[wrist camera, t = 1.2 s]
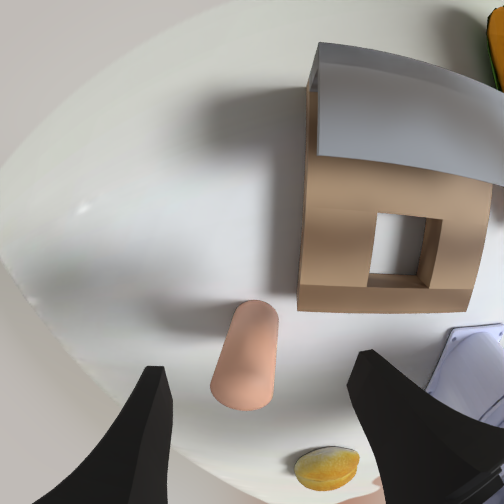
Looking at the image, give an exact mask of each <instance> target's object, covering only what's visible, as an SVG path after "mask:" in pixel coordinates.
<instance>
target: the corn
mask: <svg viewBox="0 0 504 504" xmlns="http://www.w3.org/2000/svg"><path fill="white" fill-rule="evenodd" d="M486 35H487V48H488V52H489V56H490V61H491V66H492V71H493V76H494V80H495V84H496V88H497V90H498V91H500V92H502V93H504V6H503V7H499V8H498V9H497V8H495V9H494V10H493V11H492V13H491V14H490V15H489V16H488V20H487V31H486Z"/></svg>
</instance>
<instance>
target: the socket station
mask: <svg viewBox="0 0 504 504" xmlns="http://www.w3.org/2000/svg"><path fill="white" fill-rule="evenodd" d="M493 184H495V185H499V186H502V187H504V93H502V92H500V91H498V90H496V89H494V88H492V87H490V86H488V85H485V84H483V83H481V82H478V81H476V80H474V79H471V78H469V77H466V76H464V75H461V74H459V73H456V72H453V71H450V70H447V69H445V68H442V67H439V66H436V65H432V64H429V63H426V62H422V61H419V60H415V59H412V58H408V57H404V56H400V55H396V54H392V53H387V52H382V51H378V50H372V49H367V48H361V47H355V46H348V45H341V44H333V43H324V42H319V43H318V47H317V50H316V54H315V58H314V61H313V65H312V68H311V72H310V76H309V79H308V83H307V86H306V151H305V178H304V199H303V217H302V232H301V247H300V260H299V272H298V284H297V311H306V312H331V313H383V314H400V313H449V312H466V310H467V307H468V304H469V301H470V298H471V295H472V291H473V288H474V284H475V281H476V277H477V273H478V269H479V265H480V261H481V257H482V252H483V248H484V243H485V237H486V232H487V226H488V220H489V213H490V206H491V198H492V188H493ZM377 212H379V213H389V214H399V215H408V216H417V217H426V224H425V231H424V237H423V243H422V249H421V254H420V259H419V264H418V269H417V274H416V275H397V274H373V273H369V270H370V264H371V257H372V251H373V244H374V236H375V228H376V220H377Z"/></svg>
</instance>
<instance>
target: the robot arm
mask: <svg viewBox="0 0 504 504" xmlns="http://www.w3.org/2000/svg"><path fill="white" fill-rule="evenodd" d="M503 333H504V324H497V325H488V326H478V327H466V328H455V329H453V330H452V332H451V333H450V336H449V339H448V341H447V344H446V346H445V349H444V351H443V354H442V356H441V358H440V361H439V363H438V365H437V367H436V370H435V372H434V374H433V376H432V378H431V380H430V382H429V384H428V386H427V388H426V390H425V391H424V390H423V389H421V388H420V387H419V386H417V385H416V384H415V383H414V382H412V381H411V380H410V379H408V378H407V377H406V376H405V375H403V374H402V373H401V372H400V371H399V370H397V369H396V368H395V367H394V366H393V365H391V364H390V363H389V362H388V361H387V360H385V359H384V358H383V357H382V356H381V355H379V354H378V353H377V352H376V351H374V350H373V349H371V350H366V351H360V352H359V354H358V357H357V360H356V362H355V365H354V368H353V370H352V373H351V375H350V378H349V380H348V383H347V389H348V392H349V396H350V399H351V402H352V405H353V408H354V410H355V413H356V415H357V417H358V419H359V422H360V424H361V426H362V428H363V430H364V433H365V435H366V437H367V439H368V441H369V444H370V446H371V448H372V451H373V453H374V456H375V459H376V462H377V466H378V469H379V473H380V477H381V481H382V485H383V490H384V495H385V501H386V504H504V348H503V347H502V346H501V345H500V344H499V342H500V340H501V338H502V335H503ZM172 425H173V399H172V395H171V392H170V388H169V384H168V381H167V377H166V373H165V369H164V366H147V367H145V369H144V371H143V373H142V375H141V377H140V379H139V381H138V382H137V384H136V386H135V388H134V390H133V392H132V393H131V395H130V397H129V398H128V400H127V402H126V403H125V405H124V407H123V408H122V410H121V412H120V413H119V415H118V417H117V418H116V419H115V421H114V422H113V424H112V425H111V427H110V428H109V430H108V431H107V433H106V434H105V435H104V437H103V438H102V439H101V441H100V442H99V443H98V444H97V446H96V447H95V448H94V449H93V450H92V452H91V453H90V454H89V455H88V456H87V457H86V458H85V460H84V461H83V462H82V463H81V464H80V465H79V466H78V467H77V468H76V469H75V470H74V471H73V472H72V473H71V474H70V475H69V476H68V477H66V478H65V479H64V480H63V481H62V482H61V483H60V484H58V485H57V486H56V487H55V488H54V489H52V490H51V491H50V492H48V493H47V494H46V495H44V496H43V497H41V498H40V499H38V500H37V501H35V502H34V503H32V504H168V501H167V500H168V499H167V470H168V460H169V452H170V443H171V434H172Z"/></svg>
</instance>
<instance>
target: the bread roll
mask: <svg viewBox="0 0 504 504" xmlns="http://www.w3.org/2000/svg"><path fill="white" fill-rule="evenodd" d="M359 458H360V457H359V454H358V453H357V452H356V451H354V450H351V449H347V448H340V447H326V448H322V449H318V450H315V451H313V452H310V453H308V454H306V455H304V456H302V457H301V458H299V460H298V461H297V463H296V464H295V467H294V472H295V474H296V477H297V479H298V481H299V482H300V483H301V484H302V485H304V486H305V487H306V488H309V489H312V490H316V491H329V490H334V489H337V488H340V487H341V486H343V485H345V484H346V483H348V482H349V481H350V480H351V479H352V478H353V477H354V476H355V474H356V471H357V465H358V463H359Z"/></svg>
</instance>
